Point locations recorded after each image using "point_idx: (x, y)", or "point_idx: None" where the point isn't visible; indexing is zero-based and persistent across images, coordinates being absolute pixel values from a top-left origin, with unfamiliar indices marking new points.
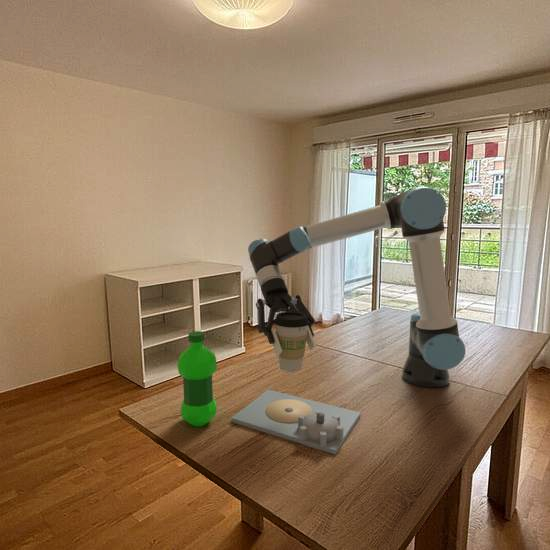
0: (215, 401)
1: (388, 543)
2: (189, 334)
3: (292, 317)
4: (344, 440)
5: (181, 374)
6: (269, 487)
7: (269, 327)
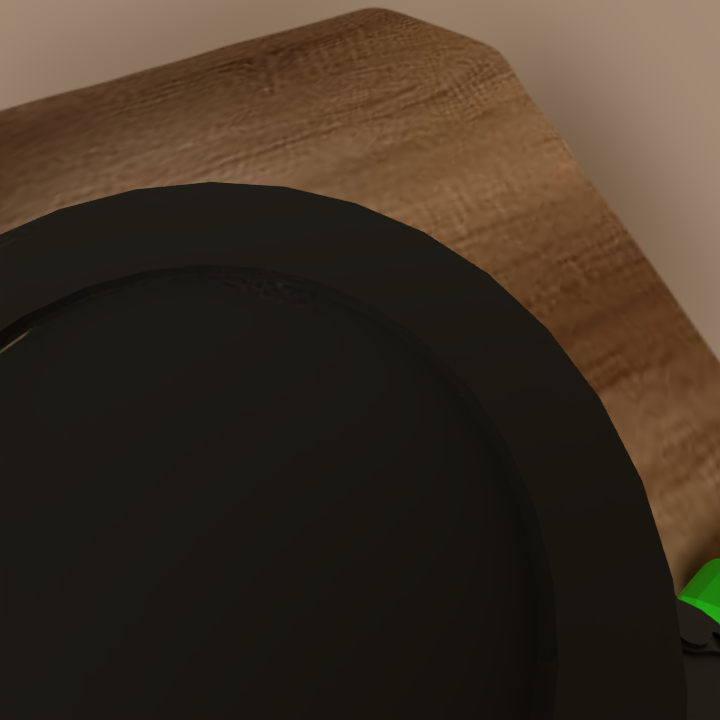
0: None
1: (387, 11)
2: None
3: (217, 507)
4: None
5: None
6: (549, 200)
7: (700, 639)
